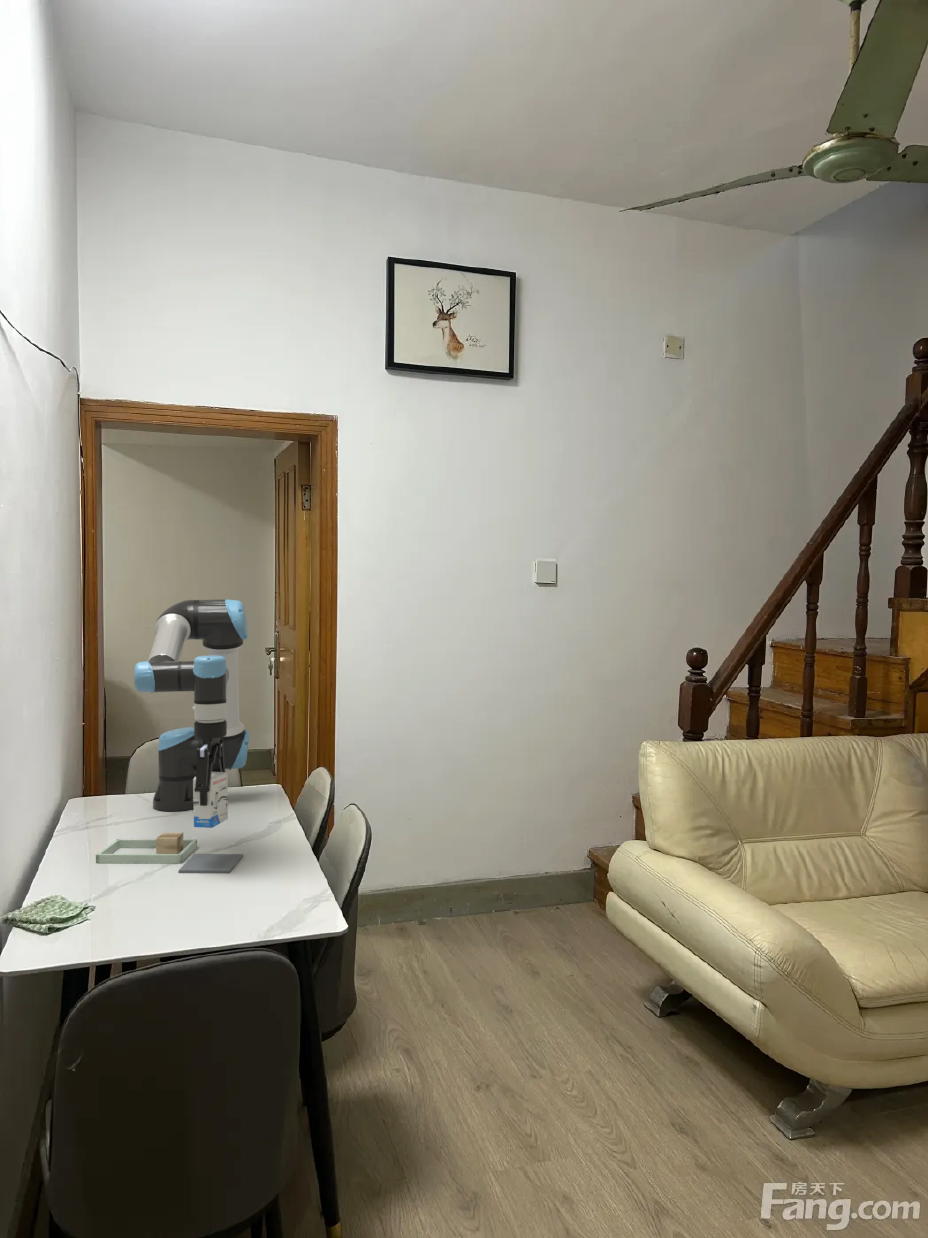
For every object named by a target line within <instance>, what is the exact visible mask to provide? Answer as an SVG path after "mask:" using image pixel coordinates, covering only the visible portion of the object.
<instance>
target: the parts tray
mask: <svg viewBox="0 0 928 1238" xmlns="http://www.w3.org/2000/svg"><path fill="white" fill-rule="evenodd" d="M197 848H198V839H195V838H193V839H190V838H189V839H188V838H186V839H185V838H183V850H182V851H181V852H180V853H179V854H156V853H114V852H115V851H117V850H118V849H156V839H155V838H151V839H149V838H148V839H147V838H145V839H144V838H136V839H135V838H127V839H126V838H123V839H122V838H117V839H115V840H114V841H113V842H111V843H110V844H109V845H107V846H105V848H103V849H101V850H100V851H99V852H98V853H96V854H95V864H182V863H183V862H184V860H185V859H187V858H188V857H189V856H190V855H191V854H192V853H193V852H194V851H195V850H196V849H197Z"/></svg>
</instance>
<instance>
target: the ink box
mask: <svg viewBox="0 0 928 1238" xmlns="http://www.w3.org/2000/svg"><path fill="white" fill-rule="evenodd" d="M228 776H229V775H228V772H226V771H225V772H212V774H211V782H210V790H209V791H211V819H199V792H195V791H194V789H195V785H196V777H194V779H193V802H194V809H193V828H206V829H213V828H215V827H217V826H218V825H220V824H222V823H224V822H226V821H227V820H229V819H228V818H229V811H228V810H229V807H228V804H229V802H228V799H229V797H228V785H229V784H228V779H229V778H228ZM202 786H203V785H202Z"/></svg>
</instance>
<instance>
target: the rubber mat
mask: <svg viewBox="0 0 928 1238" xmlns="http://www.w3.org/2000/svg"><path fill="white" fill-rule="evenodd" d="M243 857H244V853H194V854H193V855H192V856H191V857H190V858H189V859H188V860H187V861H186V862H185V863H184V864H183V865H182V866H181V867H180V868H179V869H178V874H230V873H231V872H232V870H234V869H235V868H236V865H238V864H239V862H240V861H241V860H242V858H243Z"/></svg>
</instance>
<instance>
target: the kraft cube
mask: <svg viewBox="0 0 928 1238" xmlns="http://www.w3.org/2000/svg"><path fill="white" fill-rule="evenodd" d="M183 839H184V832H162V833H161V834H160V835H159V836H158V837H156V848H155V849H156V851H155V852H156V853H155V854H179V853H180V852H181V851H182V850H183V849H184V848H183Z"/></svg>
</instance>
